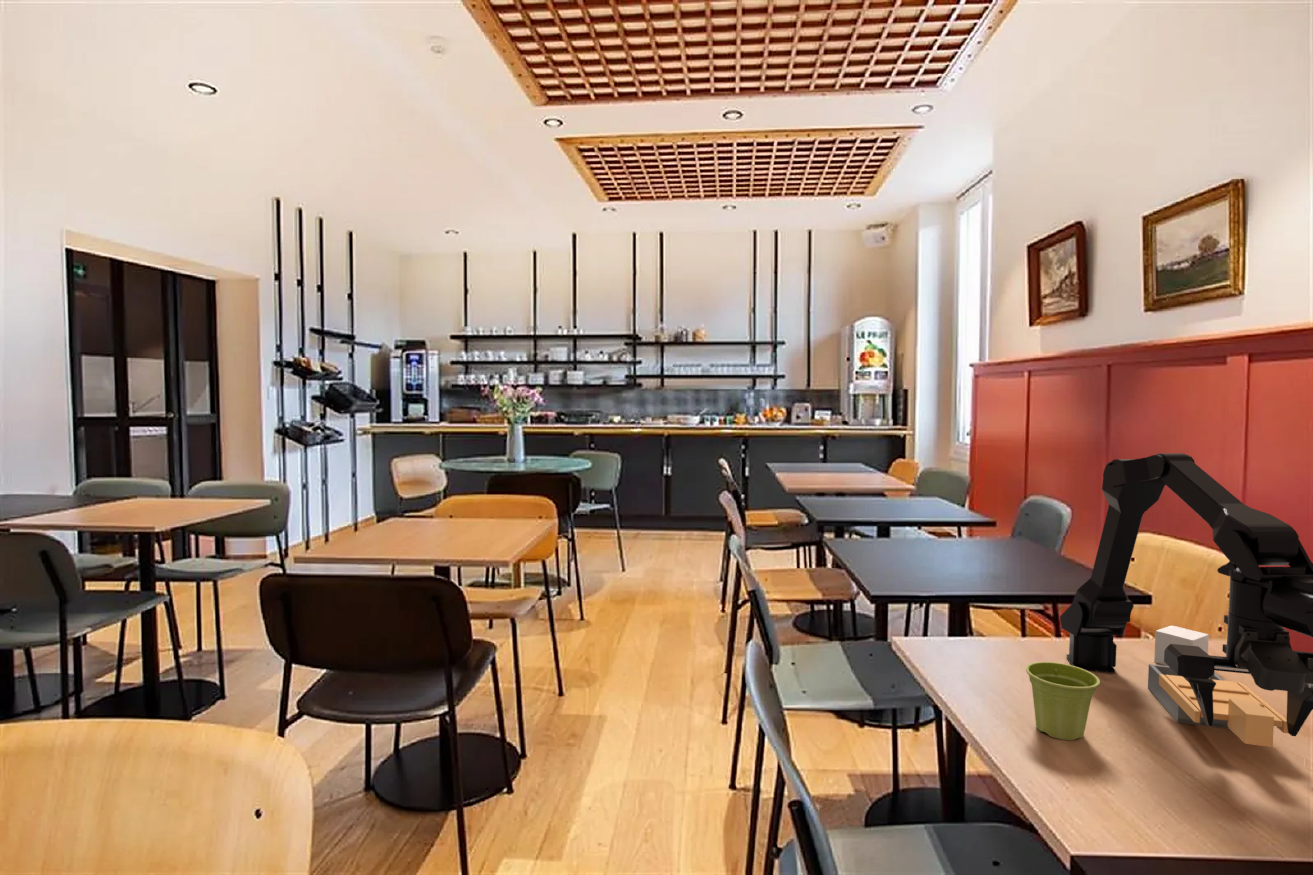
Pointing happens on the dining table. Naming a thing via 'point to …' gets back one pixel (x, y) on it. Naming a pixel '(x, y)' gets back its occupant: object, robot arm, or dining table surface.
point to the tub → (1170, 703)
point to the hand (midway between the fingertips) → (1249, 729)
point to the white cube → (1177, 640)
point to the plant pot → (1061, 698)
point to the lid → (1230, 708)
